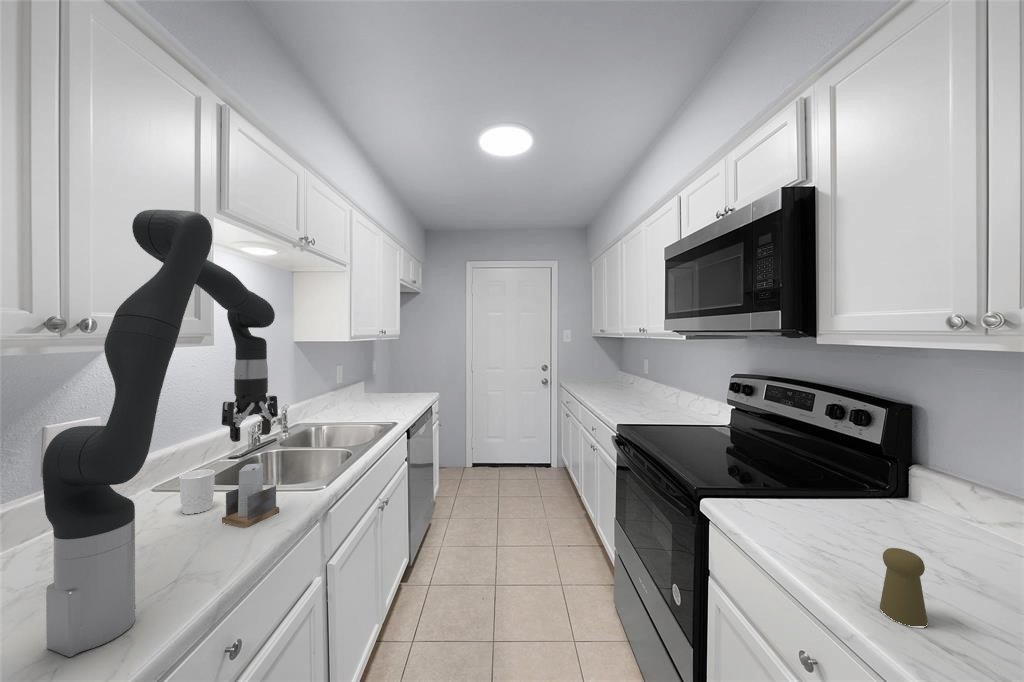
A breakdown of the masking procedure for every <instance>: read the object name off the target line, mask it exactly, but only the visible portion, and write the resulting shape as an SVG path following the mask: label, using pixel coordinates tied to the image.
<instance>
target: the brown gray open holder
mask: <svg viewBox="0 0 1024 682" xmlns="http://www.w3.org/2000/svg"><path fill="white" fill-rule="evenodd" d="M238 493H239V487H238V488H236V489H234V490H231V491H228V492H225V516H223V517H221V523H225V524H224V525H227V524H229V525H228V526H232V525H234V526H233V527H237V526H238V527H239V528H242V527H243V529H246V528H249V527H250V526H253V525H255V524H257V523H260V522H261V521H264V520H266V519H268V518H270V517H273V516H274V515H277V514H278V513H280V506H277V486H276V485H274V486H271V487H269V488H266V489H263V491H261V492H258V493H255V494H253V495H250V496H248V517H238ZM238 527H237V528H238Z"/></svg>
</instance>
